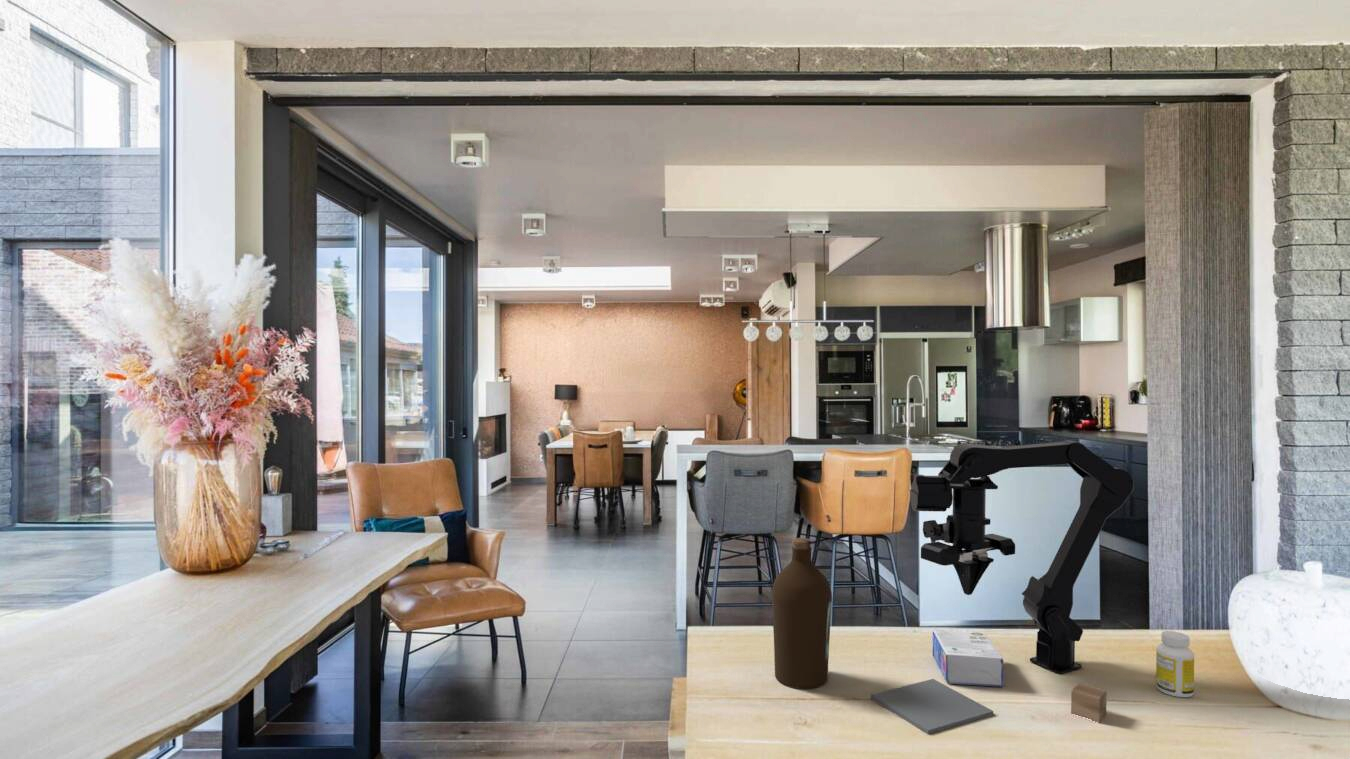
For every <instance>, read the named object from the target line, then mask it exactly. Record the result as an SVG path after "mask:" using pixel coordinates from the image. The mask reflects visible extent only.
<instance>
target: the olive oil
mask: <svg viewBox="0 0 1350 759" xmlns="http://www.w3.org/2000/svg"><path fill="white" fill-rule="evenodd" d="M792 544H793V546H791V548H792V550H791V552H792V554H791V556H792V558H791V559H792V560H790V562H789V563H788V564H787V565H786V566H785V567H784V568H783V569H782V570H781V571H780V572H779V573H778V574H777V575H776V577H775V578H774V581H773V584H772V589H771V605H772V606H771V607H772V608H771V609H772V627H773V650H774V652H773V654H774V677H775V679H776V681H778V682H779V683H781V684H783V685H784V686H786V687H790V688H794V689H801V690H808V689H811V690H812V689H817V688H820V687H822V686H824V685H825V684H826V683H827V682H828V679H829V654H830V636H831V635H830V634H831V619H832V617H831V616H832V603H833V596H832V595H833V594H832V589H831V588H832V587H831V586H830V583H829V580H828V579H827V577H826V576H825V574H824V573H822V572H821V570H820V569H819V568H818V567H817V566H816V565H815V563H813V561H812V547H811V544H812V541H811V539H810V538H805V537H796V538H793V539H792Z"/></svg>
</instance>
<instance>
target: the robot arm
mask: <svg viewBox="0 0 1350 759" xmlns="http://www.w3.org/2000/svg"><path fill="white" fill-rule="evenodd" d="M1054 465H1068V467H1070V468H1071V469H1072V471H1073V472H1074V473H1076V474H1077V475H1078V476H1079V477H1081V478H1082V481H1081V484H1080V485H1081V486H1080V489H1079V490H1080V492H1079V503H1080V504H1079V507H1078V509H1077V511H1076V512H1075V514H1074V517H1073V520H1072V521H1071V523H1070V526H1068V530H1067V531H1066V533H1065V535H1064V538H1063V540H1062V542H1061V543H1060V545H1059V548H1058V550H1057V552H1056V554H1055V555H1054V558H1053V560H1052V562H1051V563H1050V566H1049V568H1048V571H1047V572H1045V574H1043V575H1042V576H1041V577H1039V578H1036V577H1035V576H1033V575H1032V576H1030V578H1029V580H1028V584H1027V587H1026V588H1025V589H1024V591H1022V592H1021V595H1022V596H1023V601H1022V605H1023V609H1024V611H1025V612H1026V613H1027V614H1028V616H1030V618H1032V622H1033V623H1034V624H1035V625H1036V626H1037V627H1039V628H1038V631H1037V633H1036V634H1037V636H1036V638H1037V639H1036V642H1035V643H1036V644H1035V645H1036V646H1035V650H1036V651H1035V656H1032V657H1030V658H1029V661H1030V662H1032V663H1034V664H1035V665H1038V666H1040V667H1043V668H1045V669H1047V670H1049V671H1052V672H1054V673H1055V674H1056V673H1057V674H1059V675H1060V674H1061V675H1062V674H1064V673H1068V672H1069V673H1070V672H1072V671H1075V670H1079V669H1082V668H1083V664H1082V663H1079V662H1077V661H1075V660H1076V659H1075V656H1076V655H1075V654H1076V652H1075V648H1076V647H1075V646H1076V642H1079V641H1080V640H1081V637H1082V635H1083V633H1084V630H1083V629H1082V628H1081V627H1080V626H1079V625H1078V624H1077V623H1076V622H1075V621H1074V619H1073V618H1071V617H1070V616H1071V613H1072V612H1071V611H1072V608H1073V606H1074V585H1075V584H1076V583H1077V580H1078V578H1079V576H1080V574H1081V572H1082V570H1083V568H1084V565H1085V563H1086V562H1087V560H1088V557H1089V555H1090V554H1091V551H1092V549H1093V547H1094V545H1095V543H1096V541H1097V539H1098V537H1099V535H1100V533H1101V532H1102V529H1103V527H1104V524H1105V523H1106V520H1107V519H1108V518H1109V517H1110V516H1111V515H1113V513H1115V512H1117V511H1118V510H1119V509H1120V508H1121V507H1122V506H1123V505H1124V504H1125V502H1126V501H1127V500H1128V498H1129V497H1130V496H1131V495H1132V493H1133V491H1134V488H1135V482H1134V480H1133V478H1132V475H1131V474H1130V473H1129V472H1127V471H1126V470H1125V469H1122V468H1118V467H1114V466H1113V465H1112V464H1110V463H1109V462H1107V461H1106V460H1105V459H1103V458H1102V457H1099V456H1098V455H1097V454H1095V453H1093V452H1092V451H1091V450H1090V449H1089V448H1087V447H1086V445H1084V444H1083V443H1081V442H1080V441H1074V440H1069V439H1068V440H1067V439H1066V440H1063V441H1056V442H1055V441H1054V442H1045V443H1033V444H1021V445H1020V444H1019V445H1010V446H1009V445H1008V446H993V445H985V444H978V443H977V444H975V443H959V444H957V445H956V446H954V448H953V449H952V451H951V453H950V455H949V460H948V461H947V462H946V464H945V465H944V467H942V469H941V470H940V472H939V473H938V474H937V475H924V474H914V475H913V481H912V484H911V487H910V488H911V489H909V500H910V501H909V502H910V506H911V509H912V511H913V512H946V511H947V509H951V506H952V514H948V515H947V516H946V520H945V521H946V522H944V523H938V522H937V521H936V520H935V519H931V520H926V521H923V523H922V532H923V537H924V538H925V539H928V538H929V539H930V542H927V543H923V544H922V545H921V547H920V559H922V560H925V561H928V562H931V563H934V564H937V565H939V566H953V567H954V570H955V571H956V574H957V577H958V579H959V582H960V585H961V588H962V591H963V594H965V595H967V596H971V595H972V594H973V593H974V591H975V589H976V587H977V585H978V584H979V582H980V580H981V578H982V576H983V575H984V574H985V572H986V571H987V569H988V567H989V566H990V565H991V564H992V563H993V562H994V558H992V557H990V556H988V555H989V553H988V552H989V551H996V550H999V552H1000V554H1002V555H1003V556H1006V557H1007V556H1011V555H1012V556H1013V555H1015V554H1016V543H1015V542H1014V541H1013V539H1012V538H1011V537H1007V536H1003V535H999V534H996V533H986V526H989V525H991V518H989V517H986V500H987V498H986V494H987V493H986V490H998V489H999V487H998V485H997V484H996V483H995V482H993V481H992V479H991V477H990V475H994V474H997V473H999V472H1001V471H1005V470H1008V469H1017V468H1027V467H1028V468H1029V467H1041V466H1043V467H1044V466H1054ZM940 541H941V542H940ZM950 544H952V545H950Z"/></svg>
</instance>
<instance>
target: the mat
mask: <svg viewBox="0 0 1350 759" xmlns="http://www.w3.org/2000/svg"><path fill="white" fill-rule="evenodd" d="M870 699H871V700H874V701H875V702H876V703H877V704H879V705H881V706H883V707H884V708H886V709H888V710H889V711H891V712H892V713H894V714H895V715H897V716H899V717H900V718H901V719H904V720H905V721H906V722H908V723H910V724H911V725H912V726H914V727H916V728H917V729H919V730H920V731H922V732H924V733H926V734H927V735H929V734H933V733H936V732H937V733H938V732H940V731H943V730H946V729H949V728H954V727H957V726H959V725H963V724H966V723H967V724H968V723H970V722H973V721H977V720H981V719H983V718H987V717H990V716H993V715H994V710H992V709H991V708H989V707H987V706H985V705H983V704H981V703H980V702H978V701H975V700H974V699H971V698H970V697H968V696H966V695H964V694H962V693H960V692H958V691H956V690H955V689H954V688H951V687H950V686H947V685H945V684H944V683H942V682H940V681H938V680H936V679H934V678H931V679H926V680H923V681H919V682H916V683H912V684H907V685H903V686H900V687H895V688H891V689H887V690H884V691H879V692H876V693H872V694H870Z"/></svg>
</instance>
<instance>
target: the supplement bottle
mask: <svg viewBox="0 0 1350 759" xmlns="http://www.w3.org/2000/svg"><path fill="white" fill-rule="evenodd" d="M1161 642H1162V643H1159V644H1158V645H1157V647H1156V649H1155V650H1156V655H1155V657H1156V659H1155V660H1156V664H1155V665H1156V666H1155V673H1156V674H1155V684H1156V689H1157V690H1158V691H1160V692H1162V693H1164V694H1166V695H1168V696H1172V697H1176V698H1177V697H1178V698H1190V697H1193V696H1194V693H1195V653H1194V652H1193V650H1191V649H1190V648H1189V646H1190V636H1189V635H1188V634H1185V633H1183V632H1180V631H1174V630H1164V631H1162V632H1161Z"/></svg>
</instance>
